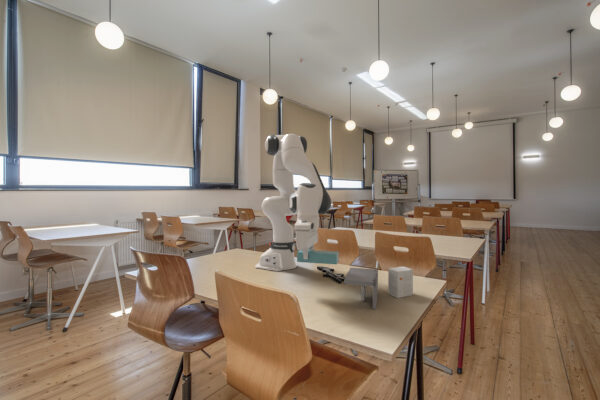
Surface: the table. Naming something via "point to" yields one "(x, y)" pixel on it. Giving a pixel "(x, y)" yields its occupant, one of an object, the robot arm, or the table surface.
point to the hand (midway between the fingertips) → (308, 257)
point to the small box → (400, 281)
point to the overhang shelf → (364, 281)
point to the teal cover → (319, 257)
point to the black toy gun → (331, 274)
